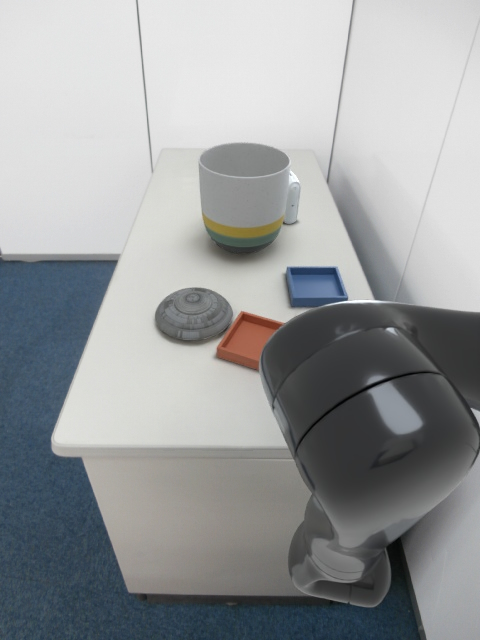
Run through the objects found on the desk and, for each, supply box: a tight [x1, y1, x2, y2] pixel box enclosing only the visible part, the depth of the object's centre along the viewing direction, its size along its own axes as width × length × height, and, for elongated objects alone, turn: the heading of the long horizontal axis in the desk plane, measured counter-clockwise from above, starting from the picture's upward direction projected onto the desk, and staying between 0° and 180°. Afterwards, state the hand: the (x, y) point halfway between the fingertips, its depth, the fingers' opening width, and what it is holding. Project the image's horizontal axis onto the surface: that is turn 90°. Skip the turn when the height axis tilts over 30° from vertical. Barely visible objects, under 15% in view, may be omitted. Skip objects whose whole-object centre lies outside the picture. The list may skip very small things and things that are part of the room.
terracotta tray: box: [216, 310, 286, 371], centre depth 82 cm, size 11×11×2 cm
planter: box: [197, 141, 292, 255], centre depth 102 cm, size 20×20×21 cm
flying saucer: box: [154, 286, 234, 341], centre depth 87 cm, size 15×15×6 cm
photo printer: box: [283, 170, 302, 225], centre depth 118 cm, size 10×4×12 cm, turn 21°
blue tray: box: [285, 265, 349, 308], centre depth 96 cm, size 11×11×2 cm
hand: (350, 351), depth 72 cm, fingers closed on battery charger, 7 cm apart
